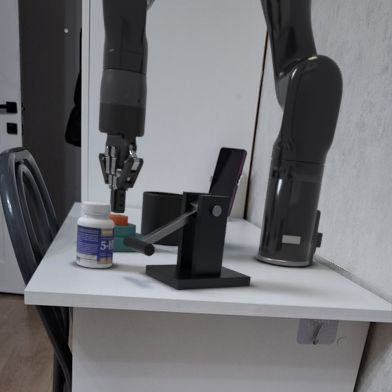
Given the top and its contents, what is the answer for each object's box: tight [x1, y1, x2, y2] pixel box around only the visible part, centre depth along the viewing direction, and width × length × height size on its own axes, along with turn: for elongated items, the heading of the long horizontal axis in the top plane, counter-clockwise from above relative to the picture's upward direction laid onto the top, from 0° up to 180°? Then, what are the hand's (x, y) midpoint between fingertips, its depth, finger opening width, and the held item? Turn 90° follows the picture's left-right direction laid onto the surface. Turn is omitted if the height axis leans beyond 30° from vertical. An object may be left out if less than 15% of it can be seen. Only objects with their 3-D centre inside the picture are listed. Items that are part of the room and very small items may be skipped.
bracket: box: [145, 191, 252, 290], centre depth 75 cm, size 12×9×12 cm
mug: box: [140, 190, 183, 246], centre depth 107 cm, size 9×12×9 cm
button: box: [109, 213, 129, 226], centre depth 95 cm, size 4×4×2 cm
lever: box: [123, 199, 198, 257], centre depth 72 cm, size 13×6×2 cm, turn 125°
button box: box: [113, 222, 144, 252], centre depth 96 cm, size 10×8×4 cm
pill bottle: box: [75, 200, 114, 269], centre depth 79 cm, size 5×5×9 cm
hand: (117, 212), depth 94 cm, fingers closed
